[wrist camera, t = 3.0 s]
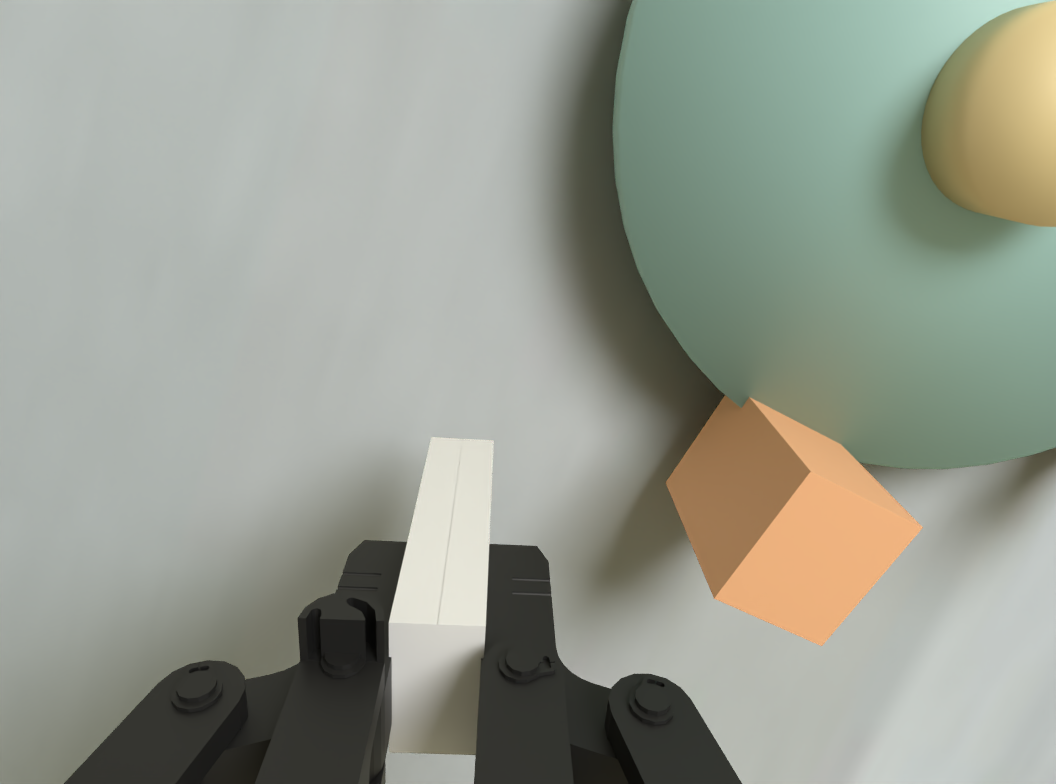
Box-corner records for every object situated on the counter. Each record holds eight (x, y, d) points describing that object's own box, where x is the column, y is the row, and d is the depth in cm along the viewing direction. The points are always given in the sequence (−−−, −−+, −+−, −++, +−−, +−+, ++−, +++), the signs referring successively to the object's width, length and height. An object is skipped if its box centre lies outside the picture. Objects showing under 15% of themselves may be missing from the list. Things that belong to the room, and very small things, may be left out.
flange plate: (430, 371, 19) (404, 462, 14) (947, -639, 12) (1231, -1115, 7) (941, 613, 23) (1058, 750, 18) (1559, -65, 16) (2015, -137, 11)
